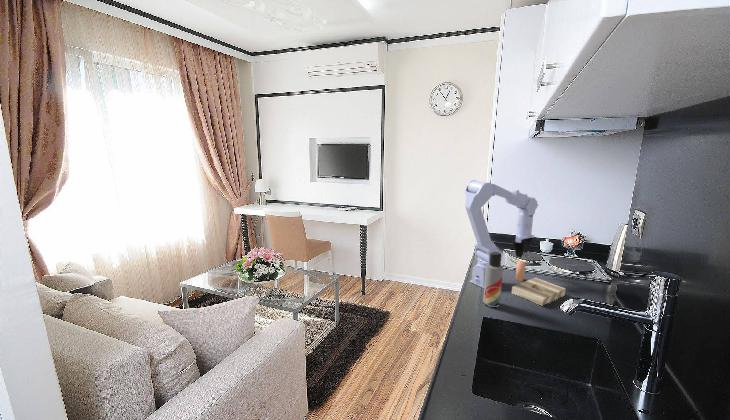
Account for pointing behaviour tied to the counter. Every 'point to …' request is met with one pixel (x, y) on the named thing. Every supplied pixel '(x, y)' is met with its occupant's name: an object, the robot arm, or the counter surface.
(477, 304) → the counter surface
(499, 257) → the lotion bottle
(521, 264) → the peg
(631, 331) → the counter surface
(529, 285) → the socket block
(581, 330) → the counter surface
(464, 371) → the counter surface
